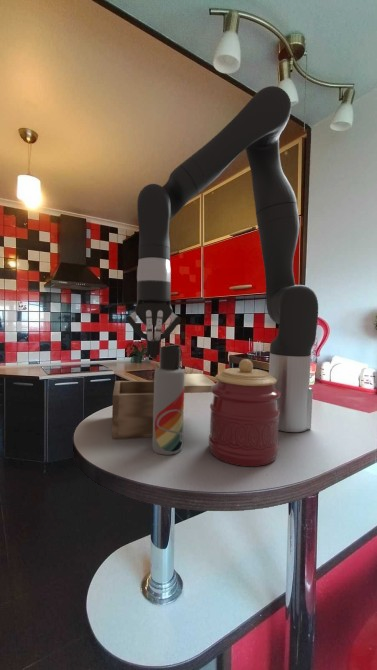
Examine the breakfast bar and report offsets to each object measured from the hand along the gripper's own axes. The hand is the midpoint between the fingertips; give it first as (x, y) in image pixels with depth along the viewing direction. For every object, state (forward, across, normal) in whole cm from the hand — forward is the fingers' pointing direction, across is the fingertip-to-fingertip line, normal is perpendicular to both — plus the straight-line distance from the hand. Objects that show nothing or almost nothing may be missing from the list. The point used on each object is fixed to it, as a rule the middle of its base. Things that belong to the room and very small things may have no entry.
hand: (153, 357), depth 69 cm
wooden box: (+16, -3, 0) cm, 16 cm away
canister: (+16, +16, -16) cm, 28 cm away
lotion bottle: (+16, +2, -13) cm, 21 cm away
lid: (+7, +7, 0) cm, 10 cm away
